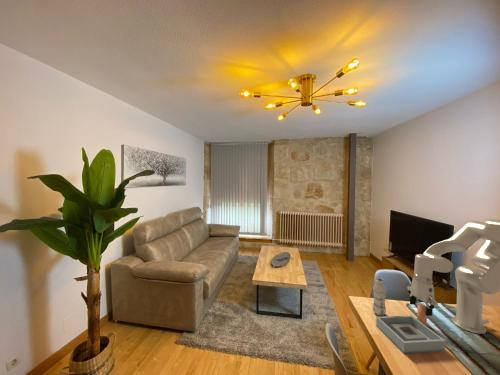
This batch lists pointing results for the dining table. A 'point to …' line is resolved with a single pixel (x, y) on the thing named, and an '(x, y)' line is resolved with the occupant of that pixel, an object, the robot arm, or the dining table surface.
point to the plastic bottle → (379, 297)
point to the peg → (422, 314)
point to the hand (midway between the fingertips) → (420, 309)
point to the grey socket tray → (410, 334)
